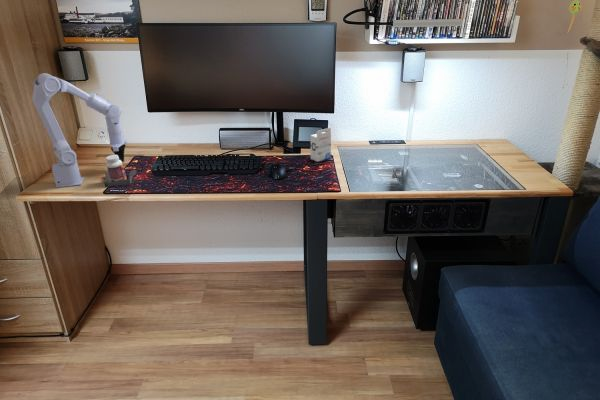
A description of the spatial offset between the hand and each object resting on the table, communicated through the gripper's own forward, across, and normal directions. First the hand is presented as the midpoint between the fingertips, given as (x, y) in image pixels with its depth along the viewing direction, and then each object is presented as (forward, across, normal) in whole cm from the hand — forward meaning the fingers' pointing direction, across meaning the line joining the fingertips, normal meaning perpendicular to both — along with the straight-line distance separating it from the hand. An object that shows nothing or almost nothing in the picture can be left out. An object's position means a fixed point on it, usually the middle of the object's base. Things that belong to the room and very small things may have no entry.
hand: (121, 161), depth 194 cm
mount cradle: (+4, -12, 0) cm, 13 cm away
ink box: (+4, -9, -89) cm, 90 cm away
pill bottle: (+4, -13, 0) cm, 14 cm away
